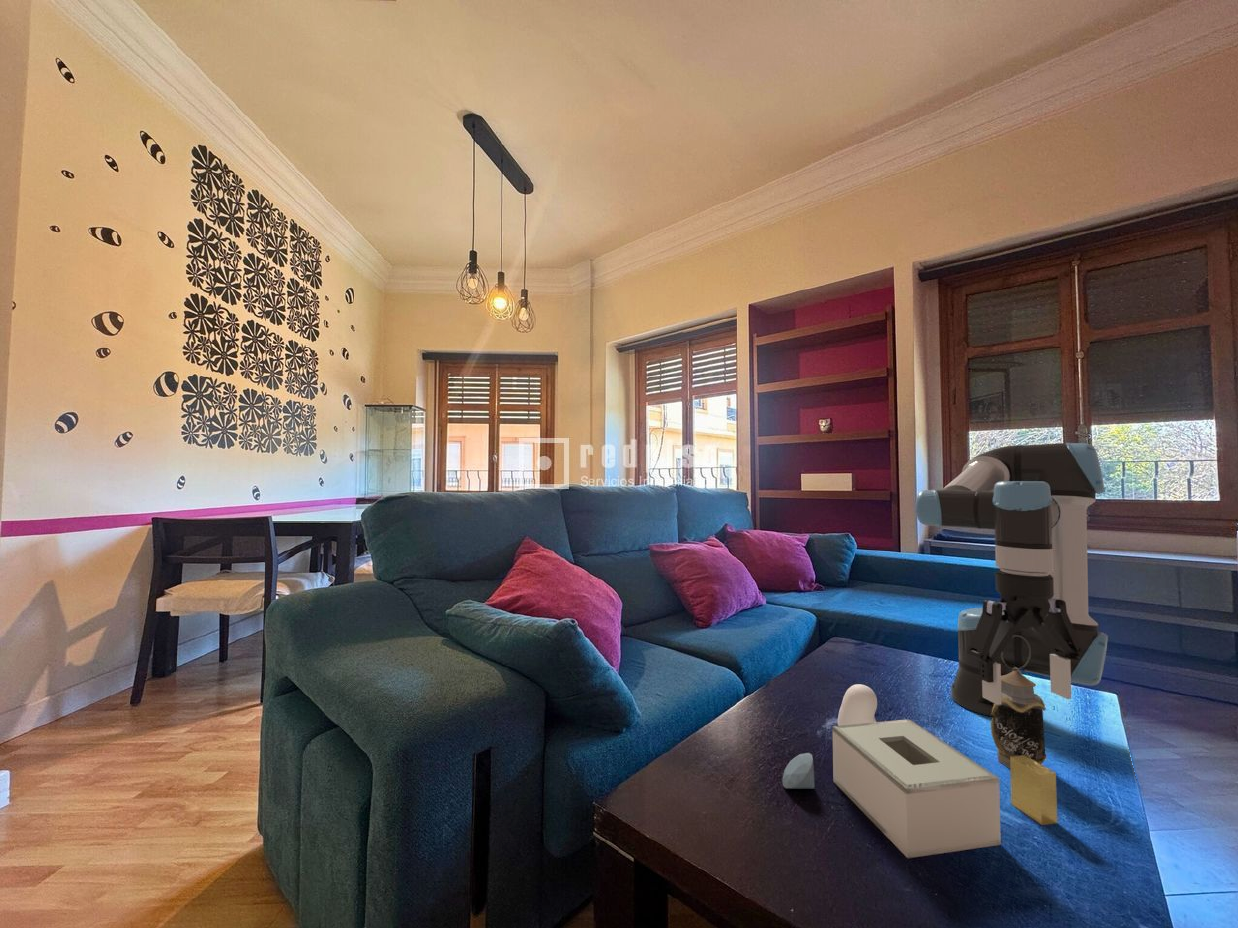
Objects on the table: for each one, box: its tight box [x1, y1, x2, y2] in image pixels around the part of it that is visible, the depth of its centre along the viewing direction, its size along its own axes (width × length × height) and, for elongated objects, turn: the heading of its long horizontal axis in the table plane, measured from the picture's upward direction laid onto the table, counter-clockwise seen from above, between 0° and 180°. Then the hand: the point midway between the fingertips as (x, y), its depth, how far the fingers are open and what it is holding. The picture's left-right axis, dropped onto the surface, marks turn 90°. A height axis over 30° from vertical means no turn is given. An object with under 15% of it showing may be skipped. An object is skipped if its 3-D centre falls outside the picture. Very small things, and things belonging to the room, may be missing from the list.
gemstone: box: [782, 752, 815, 790], centre depth 86 cm, size 8×8×5 cm
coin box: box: [832, 718, 1002, 859], centre depth 80 cm, size 16×18×10 cm
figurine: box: [837, 683, 878, 726], centre depth 101 cm, size 7×8×12 cm
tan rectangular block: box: [1009, 755, 1058, 826], centre depth 79 cm, size 3×5×8 cm, turn 9°
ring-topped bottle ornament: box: [990, 635, 1048, 770], centre depth 93 cm, size 9×8×25 cm
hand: (1026, 698), depth 80 cm, fingers open, 13 cm apart
